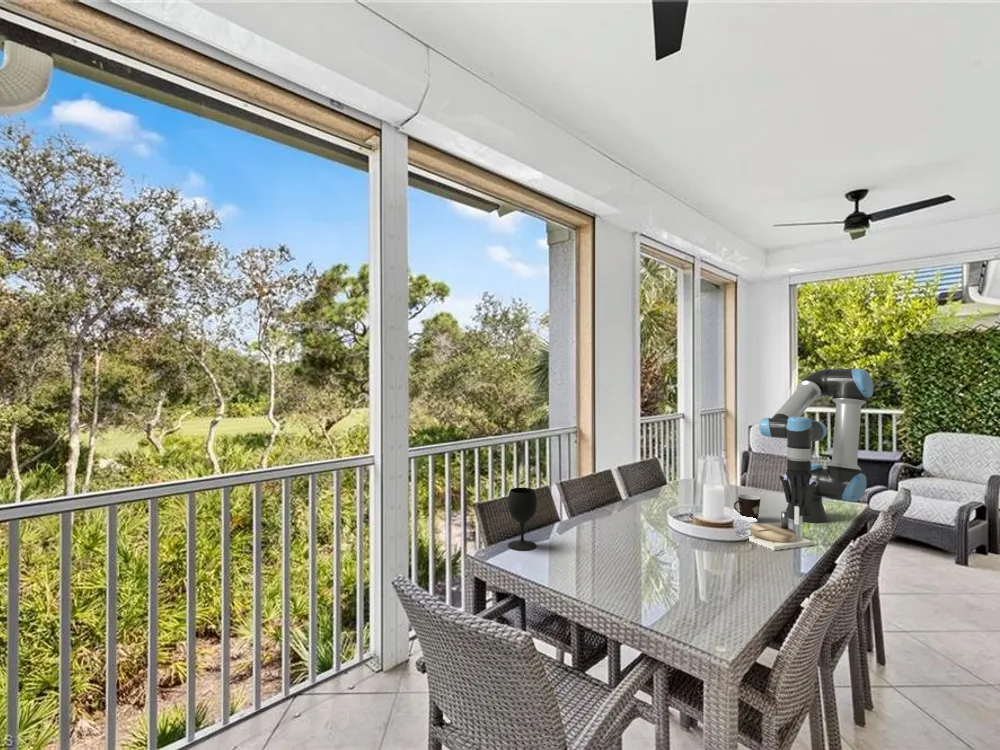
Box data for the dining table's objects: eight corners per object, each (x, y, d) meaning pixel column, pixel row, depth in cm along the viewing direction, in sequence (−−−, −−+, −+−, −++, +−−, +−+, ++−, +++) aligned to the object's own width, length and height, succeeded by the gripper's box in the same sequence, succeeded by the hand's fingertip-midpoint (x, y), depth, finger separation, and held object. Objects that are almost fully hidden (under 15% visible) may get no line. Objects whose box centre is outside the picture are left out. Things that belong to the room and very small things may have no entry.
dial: (771, 527, 196) (771, 506, 196) (805, 539, 181) (805, 517, 181) (740, 530, 191) (740, 510, 191) (773, 543, 177) (773, 521, 177)
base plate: (771, 530, 197) (771, 526, 197) (812, 545, 180) (812, 540, 180) (734, 535, 192) (734, 530, 192) (774, 550, 175) (774, 545, 175)
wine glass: (542, 545, 179) (542, 490, 179) (523, 553, 172) (524, 495, 172) (520, 539, 186) (520, 485, 186) (501, 546, 179) (501, 490, 179)
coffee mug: (755, 517, 215) (755, 494, 215) (764, 523, 206) (764, 499, 206) (727, 517, 216) (727, 494, 216) (734, 523, 207) (734, 499, 207)
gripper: (823, 461, 179) (822, 526, 179) (785, 456, 190) (785, 518, 190) (813, 462, 175) (812, 530, 175) (775, 457, 186) (774, 521, 186)
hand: (798, 523), depth 182 cm, fingers closed
